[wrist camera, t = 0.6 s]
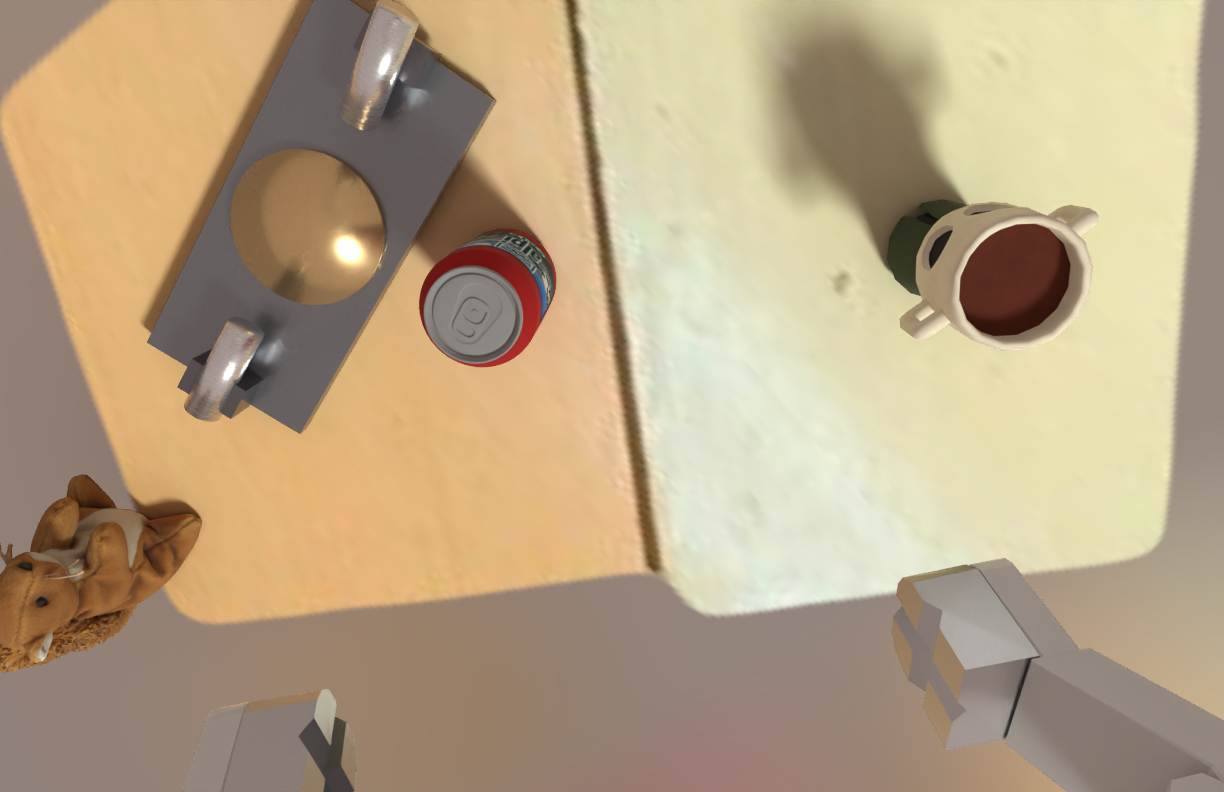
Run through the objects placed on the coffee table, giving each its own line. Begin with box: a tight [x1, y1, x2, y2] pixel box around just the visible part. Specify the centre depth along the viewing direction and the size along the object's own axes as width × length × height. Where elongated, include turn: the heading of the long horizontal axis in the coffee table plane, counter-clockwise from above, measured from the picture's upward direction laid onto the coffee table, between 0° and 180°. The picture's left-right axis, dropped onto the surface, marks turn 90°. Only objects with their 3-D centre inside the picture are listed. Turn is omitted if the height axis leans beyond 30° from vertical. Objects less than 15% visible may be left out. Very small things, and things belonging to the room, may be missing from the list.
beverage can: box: [419, 229, 556, 367], centre depth 48 cm, size 7×7×12 cm
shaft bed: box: [147, 0, 496, 434], centre depth 50 cm, size 30×12×7 cm, turn 146°
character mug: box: [887, 200, 1098, 351], centre depth 46 cm, size 11×7×13 cm, turn 128°
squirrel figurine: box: [0, 475, 202, 673], centre depth 56 cm, size 10×14×13 cm
